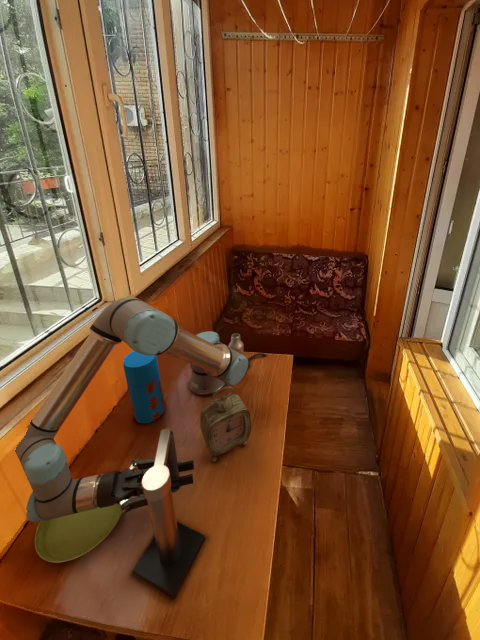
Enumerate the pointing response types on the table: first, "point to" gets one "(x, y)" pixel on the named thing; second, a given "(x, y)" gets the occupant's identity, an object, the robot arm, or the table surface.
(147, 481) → the spout
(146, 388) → the thermos
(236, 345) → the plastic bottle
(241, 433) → the tabletop clock
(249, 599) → the table surface
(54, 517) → the robot arm
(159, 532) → the standpipe
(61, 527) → the green plate
